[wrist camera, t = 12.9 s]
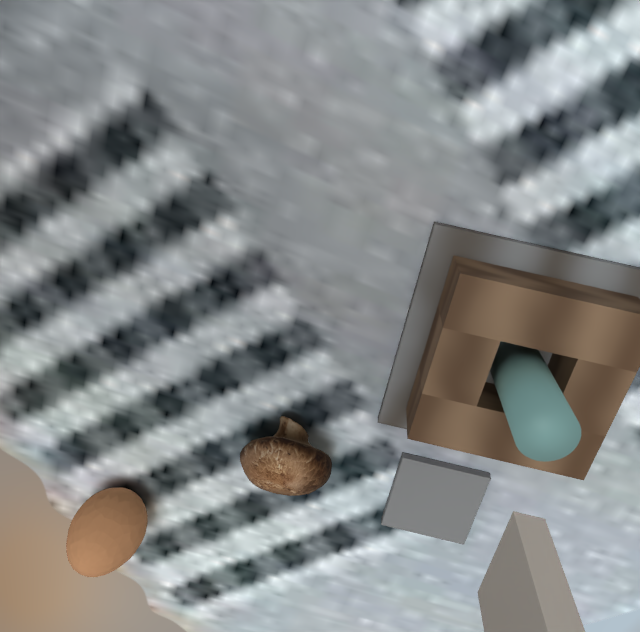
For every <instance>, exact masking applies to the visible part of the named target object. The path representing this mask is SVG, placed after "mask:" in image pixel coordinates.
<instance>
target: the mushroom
mask: <svg viewBox="0 0 640 632" xmlns="http://www.w3.org/2000/svg"><path fill="white" fill-rule="evenodd" d="M240 461H241V464H242V467H243V470H244V472H245V474H246V476H247V477H248V479H249V480H250V481H251V482H252V483H253V484H254V485H256V486H257V487H259V488H261V489H263V490H266V491H269V492H273V493H276V494H283V495H303V494H309V493H311V492H313V491H315V490H317V489H318V488H320V487H322V486H323V485H324V484H325V483H326V482H327V480H328V479H329V477H330V474H331V468H332V462H331V458H330V457H329V456H328V455H327V454H326V453H325V452H323V451H321V450H319V449H316V448H314V447H312V446H311V445H310V443H309V442H308V434H307V432H306V431H305V429H304V428H303V427H302V426H301V425H299V424H298V423H297V422H295V421H293V420H292V419H290V418H287V417H284V416H281V417H280V425H279V429H278V431H277V433H276V434H275V435H274V436H273V437H272V436H268V437H263V438H258V439H255V440H252V441H251V442H249V443H248V444H247V445H246V446H245V447H244V448H243V449H242V451H241V453H240Z"/></svg>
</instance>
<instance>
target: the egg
mask: <svg viewBox="0 0 640 632" xmlns="http://www.w3.org/2000/svg"><path fill="white" fill-rule="evenodd" d="M146 527H147V511H146V507H145V504H144V503H143V501H142V499H141V498H140V497H139V496H138V495H137V494H136V493H135V492H133V491H132V490H129V489H126V488H122V487H118V488H108V489H104V490H102V491H100V492H98V493H96V494H94V495H93V496H91V497H90V498H89V499H88V500H87V501H86V502H85V503H84V504H83V505H82V506H81V507H80V509H79V510H78V511H77V513H76V514H75V516H74V518H73V520H72V522H71V525H70V527H69V531H68V536H67V543H66V544H67V545H66V547H67V556H68V561H69V563H70V564H71V566H72V568H73V569H74V570H75V571H77V572H78V573H79V574H81V575H84V576H87V577H98V576H102V575H105V574H108V573H110V572H112V571H114V570H116V569H117V568H118V567H120V566H121V565H123V564H124V563H125V562H126V561H128V560H129V559H130V558H131V557H132V555H133V554H134V553H135V552H136V550H137V549H138V547H139V546H140V544H141V542H142V540H143V538H144V536H145V532H146Z"/></svg>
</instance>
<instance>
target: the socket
mask: <svg viewBox="0 0 640 632" xmlns="http://www.w3.org/2000/svg"><path fill="white" fill-rule="evenodd" d="M501 341H502V342H507V343H511V344H515V345H520V346H524V347H528V348H533V349H537V350H539V352H540V354H541V355H542V357H543V359H544V361H545V362H546V364H547V366H548V368H549V370H550V371H551V373H552V375H553V377H554V379H555V380H556V382H557V384H558V386H559V388H560V389H561V391H562V393H563V395H564V397H565V398H566V400H567V402H568V404H569V406H570V407H571V409H572V411H573V413H574V415H575V416H576V418H577V420H578V422H579V424H580V427H581V439H580V441H579V444H578V445H577V447H576V448H575V449H574V450H573V451H572V452H571V453H570V454H569V455H567V456H565V457H563V458H561V459H558V460H555V461H546V462H544V461H536V460H533V459H530V458H528V457H526V456H525V455H523V454H522V453H521V452H520V451H519V449H518V448H517V446H516V444H515V441H514V438H513V435H512V432H511V430H510V427H509V424H508V421H507V418H506V415H505V412H504V409H503V407H502V404H501V401H500V398H499V395H498V392H497V389H496V386H495V384H494V381H493V378H492V375H491V372H490V369H491V366H492V363H493V361H494V358H495V355H496V352H497V350H498V347H499V344H500V342H501ZM639 367H640V268H639V267H634V266H630V265H625V264H621V263H616V262H612V261H607V260H603V259H599V258H594V257H590V256H585V255H581V254H576V253H572V252H567V251H563V250H558V249H554V248H549V247H545V246H541V245H536V244H532V243H527V242H523V241H518V240H514V239H509V238H505V237H500V236H496V235H491V234H487V233H483V232H478V231H474V230H469V229H465V228H460V227H456V226H451V225H447V224H442V223H438V222H434V224H433V228H432V231H431V235H430V238H429V242H428V245H427V249H426V252H425V255H424V259H423V262H422V266H421V269H420V273H419V276H418V280H417V283H416V287H415V290H414V294H413V297H412V301H411V304H410V308H409V311H408V315H407V318H406V322H405V325H404V329H403V332H402V336H401V339H400V343H399V346H398V350H397V353H396V357H395V360H394V364H393V367H392V370H391V374H390V377H389V381H388V384H387V388H386V391H385V395H384V398H383V402H382V405H381V409H380V412H379V416H378V423H382V424H387V425H391V426H395V427H399V428H404V429H407V436H408V439H411V440H415V441H420V442H424V443H428V444H432V445H437V446H441V447H445V448H449V449H454V450H458V451H462V452H466V453H470V454H475V455H479V456H483V457H487V458H492V459H496V460H500V461H504V462H509V463H513V464H517V465H521V466H526V467H530V468H534V469H538V470H542V471H547V472H551V473H555V474H559V475H564V476H568V477H572V478H576V479H581V480H584V479H585V477H586V475H587V473H588V470H589V468H590V466H591V464H592V462H593V460H594V458H595V456H596V454H597V452H598V450H599V448H600V446H601V444H602V442H603V440H604V438H605V436H606V434H607V432H608V430H609V428H610V426H611V424H612V422H613V420H614V418H615V416H616V414H617V412H618V410H619V408H620V406H621V403H622V401H623V399H624V397H625V395H626V393H627V391H628V389H629V387H630V385H631V383H632V381H633V379H634V377H635V375H636V373H637V371H638V369H639Z"/></svg>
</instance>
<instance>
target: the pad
mask: <svg viewBox="0 0 640 632" xmlns="http://www.w3.org/2000/svg"><path fill="white" fill-rule="evenodd" d="M490 479H491V477H490V474H489V473H488V472H484V471H479V470H475V469H471V468H467V467H463V466H458V465H454V464H450V463H446V462H441V461H437V460H433V459H429V458H425V457H420V456H416V455H412V454H408V453H403V452H402V456H401V459H400V462H399V465H398V468H397V471H396V474H395V478H394V481H393V484H392V487H391V490H390V493H389V497H388V500H387V503H386V506H385V509H384V512H383V515H382V519H381V525H385V526H389V527H393V528H397V529H401V530H406V531H410V532H414V533H418V534H422V535H426V536H431V537H435V538H439V539H443V540H447V541H451V542H455V543H460V544H464V543H465V541H466V538H467V536H468V533H469V531H470V529H471V526H472V524H473V521H474V519H475V516H476V514H477V511H478V509H479V506H480V504H481V501H482V499H483V497H484V494H485V492H486V489H487V487H488V484H489V482H490Z"/></svg>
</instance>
